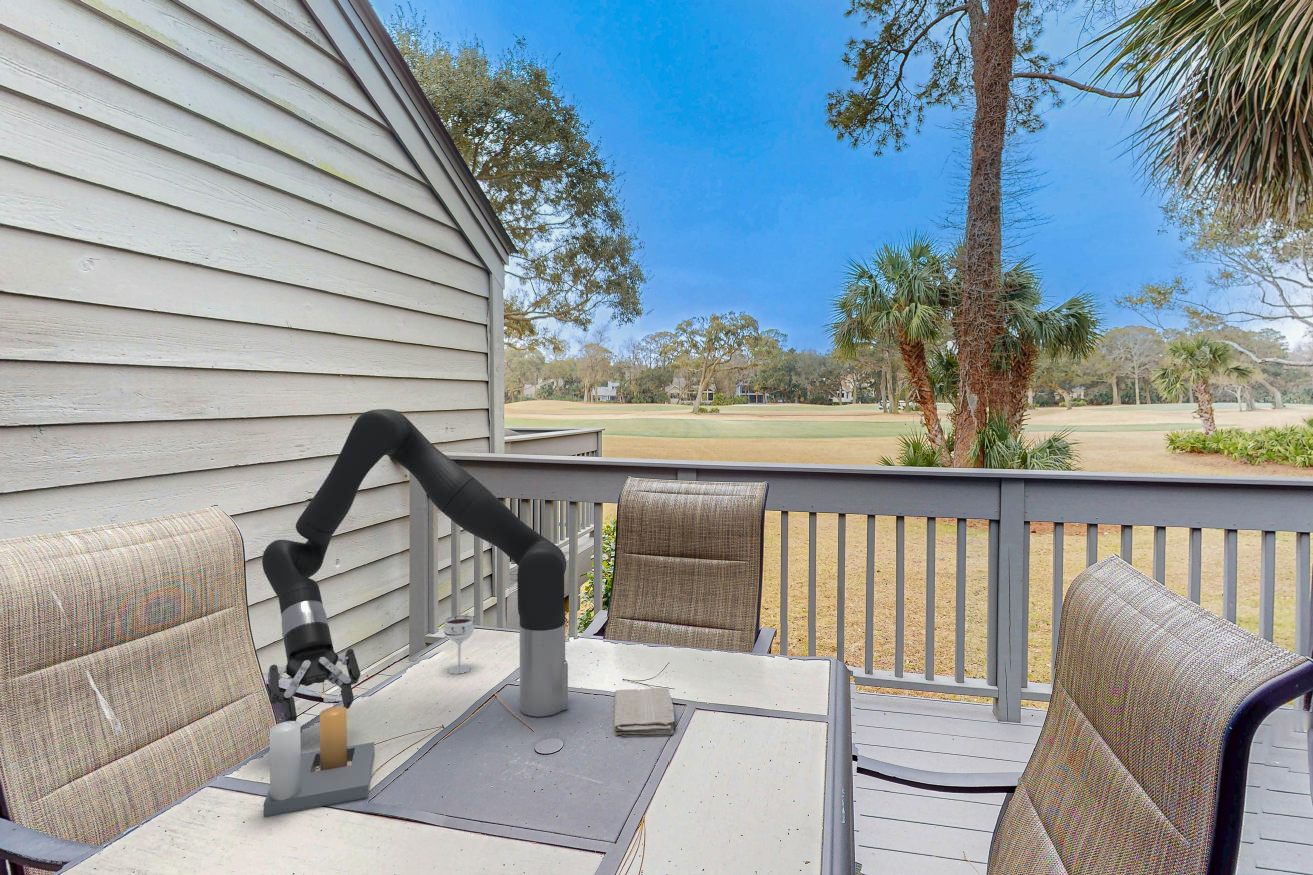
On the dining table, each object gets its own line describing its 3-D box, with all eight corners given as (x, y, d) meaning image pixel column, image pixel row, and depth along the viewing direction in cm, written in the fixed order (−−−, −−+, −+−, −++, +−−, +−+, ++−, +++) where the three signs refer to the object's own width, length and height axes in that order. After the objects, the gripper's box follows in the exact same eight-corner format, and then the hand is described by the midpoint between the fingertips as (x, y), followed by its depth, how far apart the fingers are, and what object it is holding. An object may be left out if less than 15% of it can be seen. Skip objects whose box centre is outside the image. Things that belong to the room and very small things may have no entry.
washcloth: (613, 740, 117) (613, 724, 116) (612, 698, 134) (612, 684, 134) (677, 738, 117) (677, 722, 117) (668, 696, 135) (668, 682, 135)
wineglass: (461, 677, 144) (461, 625, 144) (437, 673, 146) (437, 621, 146) (480, 666, 150) (480, 616, 150) (456, 662, 153) (456, 613, 152)
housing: (374, 753, 111) (374, 685, 111) (367, 797, 98) (367, 720, 98) (283, 767, 106) (282, 697, 106) (263, 816, 93) (262, 736, 93)
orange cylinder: (348, 762, 108) (347, 704, 108) (345, 774, 104) (345, 714, 104) (322, 766, 106) (321, 708, 106) (318, 779, 103) (317, 718, 102)
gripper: (264, 628, 111) (277, 716, 103) (351, 613, 121) (369, 692, 112) (259, 650, 116) (271, 735, 107) (343, 634, 125) (360, 711, 117)
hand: (321, 713), depth 110 cm, fingers open, 8 cm apart
